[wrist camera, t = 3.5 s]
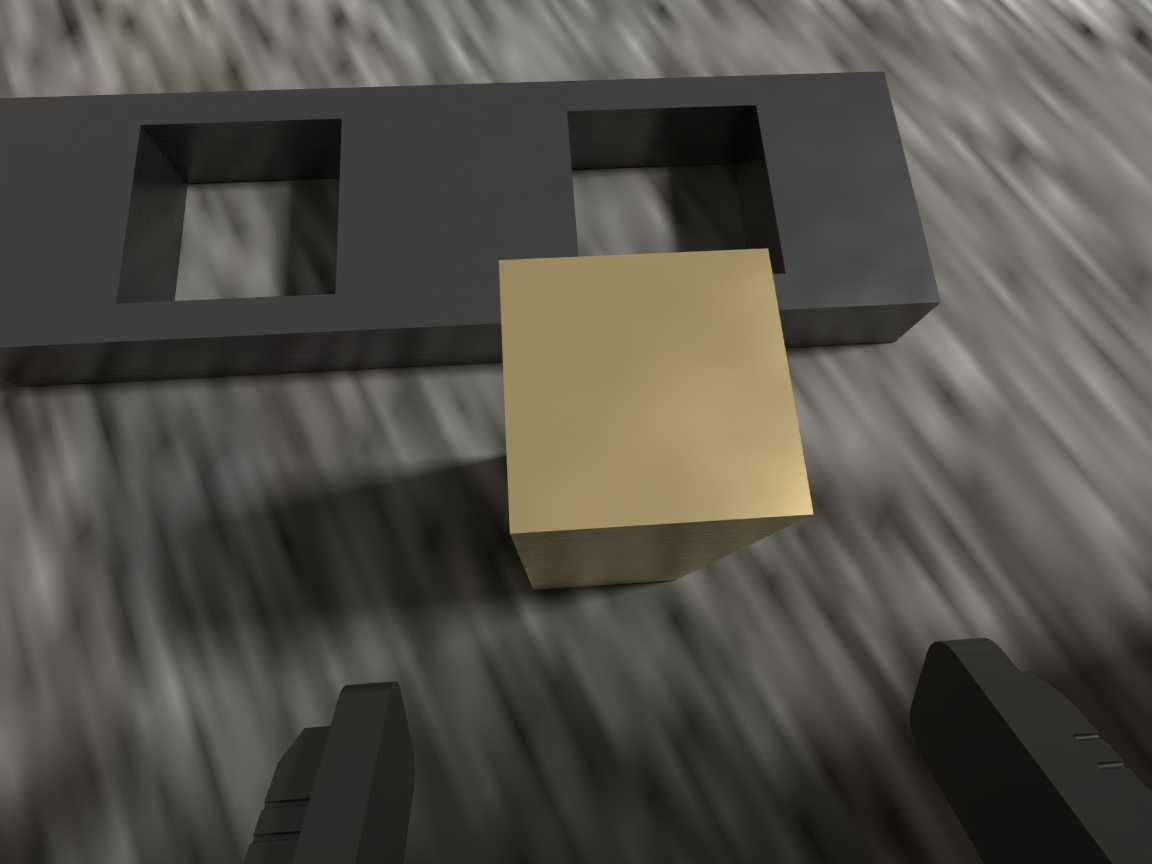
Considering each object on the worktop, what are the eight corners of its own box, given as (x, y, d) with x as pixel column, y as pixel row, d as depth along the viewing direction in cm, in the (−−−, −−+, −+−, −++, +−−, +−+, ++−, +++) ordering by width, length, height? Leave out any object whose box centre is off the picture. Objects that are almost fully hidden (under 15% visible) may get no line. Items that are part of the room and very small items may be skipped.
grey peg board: (848, 132, 27) (883, 71, 24) (894, 342, 24) (940, 301, 21) (59, 159, 25) (-4, 98, 22) (19, 386, 23) (-58, 349, 20)
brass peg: (660, 443, 23) (768, 248, 11) (675, 580, 22) (813, 514, 10) (526, 451, 23) (498, 260, 11) (533, 589, 21) (509, 533, 10)
